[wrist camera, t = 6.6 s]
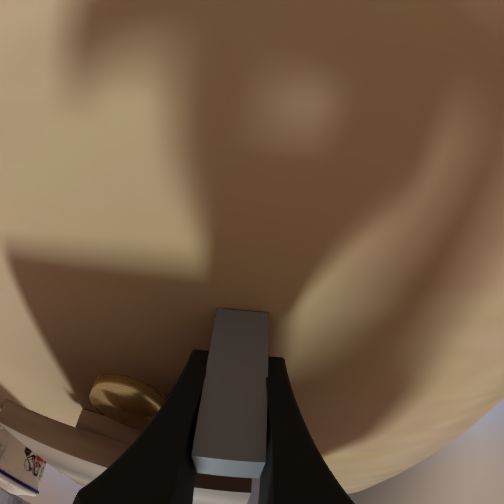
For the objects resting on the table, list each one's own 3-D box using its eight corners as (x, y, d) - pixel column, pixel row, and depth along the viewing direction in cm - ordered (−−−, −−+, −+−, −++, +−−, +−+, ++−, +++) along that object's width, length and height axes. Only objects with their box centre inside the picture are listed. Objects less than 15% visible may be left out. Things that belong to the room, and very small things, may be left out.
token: (175, 416, 18) (171, 435, 17) (109, 403, 18) (103, 420, 17) (164, 378, 16) (158, 400, 14) (86, 362, 16) (77, 382, 14)
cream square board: (245, 453, 21) (240, 519, 16) (88, 424, 21) (70, 480, 16) (257, 379, 15) (251, 493, 10) (28, 337, 15) (-13, 415, 10)
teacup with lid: (63, 449, 30) (43, 516, 20) (13, 425, 29) (-9, 485, 20) (34, 415, 23) (3, 501, 14) (-21, 384, 23) (-55, 458, 13)
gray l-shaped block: (249, 433, 19) (244, 512, 14) (220, 430, 19) (210, 509, 14) (268, 312, 12) (265, 462, 7) (217, 308, 12) (191, 455, 7)
